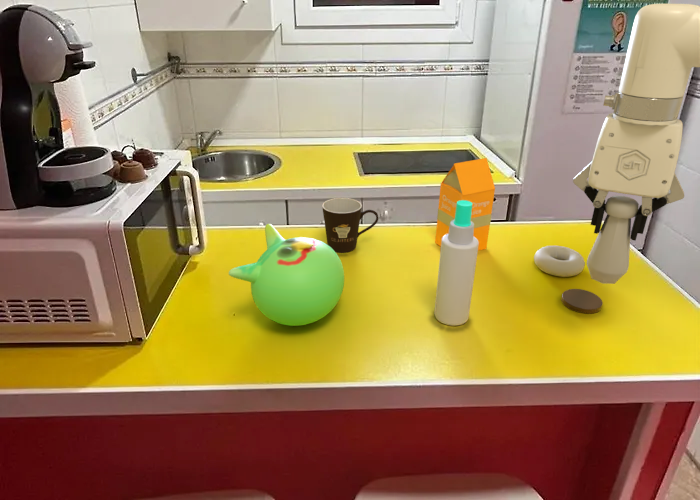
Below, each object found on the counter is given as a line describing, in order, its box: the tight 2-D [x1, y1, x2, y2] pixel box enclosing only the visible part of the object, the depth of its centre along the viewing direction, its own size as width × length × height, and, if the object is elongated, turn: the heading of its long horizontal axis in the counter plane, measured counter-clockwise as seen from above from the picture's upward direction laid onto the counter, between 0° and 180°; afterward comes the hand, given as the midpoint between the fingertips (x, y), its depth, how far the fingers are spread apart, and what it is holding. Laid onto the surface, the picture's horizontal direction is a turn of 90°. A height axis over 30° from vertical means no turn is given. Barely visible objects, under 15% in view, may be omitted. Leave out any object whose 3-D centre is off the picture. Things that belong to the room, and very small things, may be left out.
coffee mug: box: [321, 197, 379, 254], centre depth 114 cm, size 12×9×10 cm
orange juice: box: [434, 157, 496, 252], centre depth 113 cm, size 8×9×20 cm
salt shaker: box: [586, 195, 640, 285], centre depth 77 cm, size 6×6×13 cm
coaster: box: [560, 288, 604, 315], centre depth 97 cm, size 7×7×1 cm
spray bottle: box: [434, 200, 479, 327], centre depth 88 cm, size 6×6×22 cm
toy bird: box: [228, 223, 345, 327], centre depth 90 cm, size 18×17×15 cm
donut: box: [533, 245, 586, 278], centre depth 108 cm, size 10×4×10 cm
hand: (615, 232), depth 76 cm, fingers closed on salt shaker, 4 cm apart
